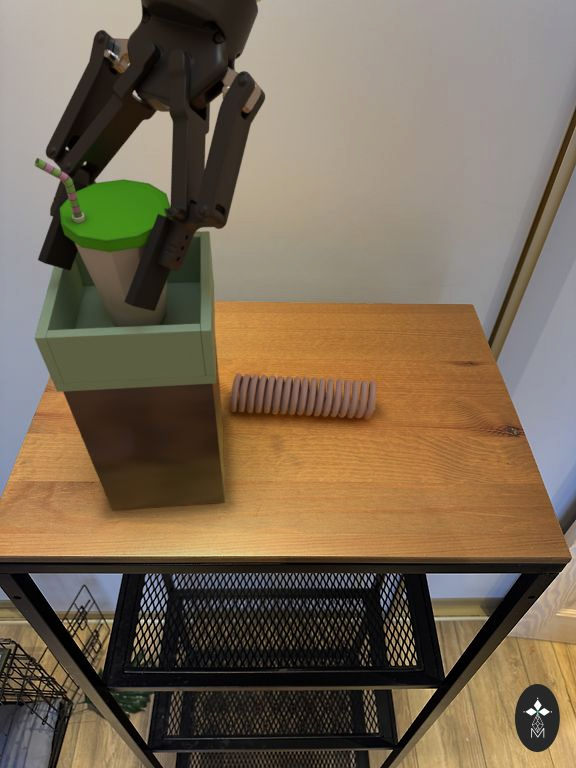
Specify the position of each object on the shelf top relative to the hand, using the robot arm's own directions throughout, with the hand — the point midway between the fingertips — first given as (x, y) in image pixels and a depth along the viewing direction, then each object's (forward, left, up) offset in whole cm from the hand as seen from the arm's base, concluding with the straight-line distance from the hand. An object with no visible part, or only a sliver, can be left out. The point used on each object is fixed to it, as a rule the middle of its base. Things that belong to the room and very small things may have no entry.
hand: (95, 285), depth 42 cm
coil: (-18, -9, -28) cm, 34 cm away
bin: (-2, -3, -8) cm, 8 cm away
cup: (-2, -3, -6) cm, 7 cm away
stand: (-2, -3, -28) cm, 28 cm away
